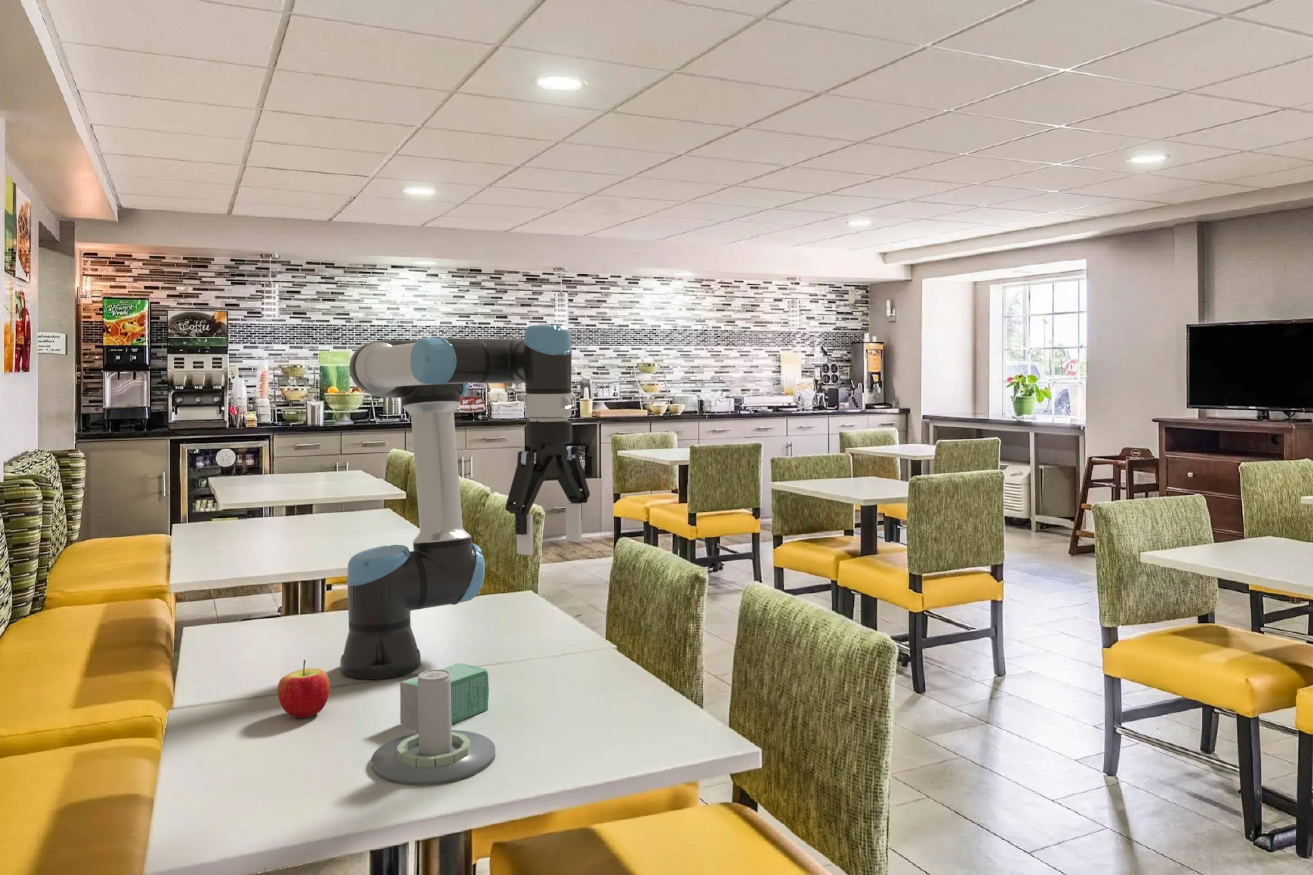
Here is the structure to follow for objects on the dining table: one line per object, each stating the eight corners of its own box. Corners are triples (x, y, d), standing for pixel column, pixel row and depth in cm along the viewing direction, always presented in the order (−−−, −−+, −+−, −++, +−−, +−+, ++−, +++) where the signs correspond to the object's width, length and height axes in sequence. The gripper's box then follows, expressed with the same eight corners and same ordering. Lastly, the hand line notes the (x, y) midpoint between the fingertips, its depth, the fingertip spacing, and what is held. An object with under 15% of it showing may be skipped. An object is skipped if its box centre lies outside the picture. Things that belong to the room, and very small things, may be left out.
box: (490, 710, 164) (489, 667, 163) (429, 735, 153) (428, 689, 152) (460, 701, 168) (459, 660, 167) (399, 725, 157) (398, 681, 156)
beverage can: (421, 747, 145) (420, 669, 144) (454, 746, 145) (452, 668, 144) (416, 760, 140) (414, 680, 139) (449, 758, 140) (448, 679, 139)
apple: (281, 727, 156) (279, 667, 155) (275, 711, 163) (274, 654, 162) (334, 719, 159) (332, 660, 159) (326, 703, 167) (324, 647, 166)
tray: (345, 768, 139) (344, 753, 139) (431, 728, 155) (431, 715, 155) (437, 795, 130) (437, 779, 130) (519, 749, 146) (519, 735, 146)
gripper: (519, 424, 144) (521, 562, 146) (609, 416, 166) (609, 537, 167) (481, 422, 148) (483, 558, 149) (573, 415, 169) (574, 534, 171)
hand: (550, 547), depth 158 cm, fingers open, 13 cm apart
